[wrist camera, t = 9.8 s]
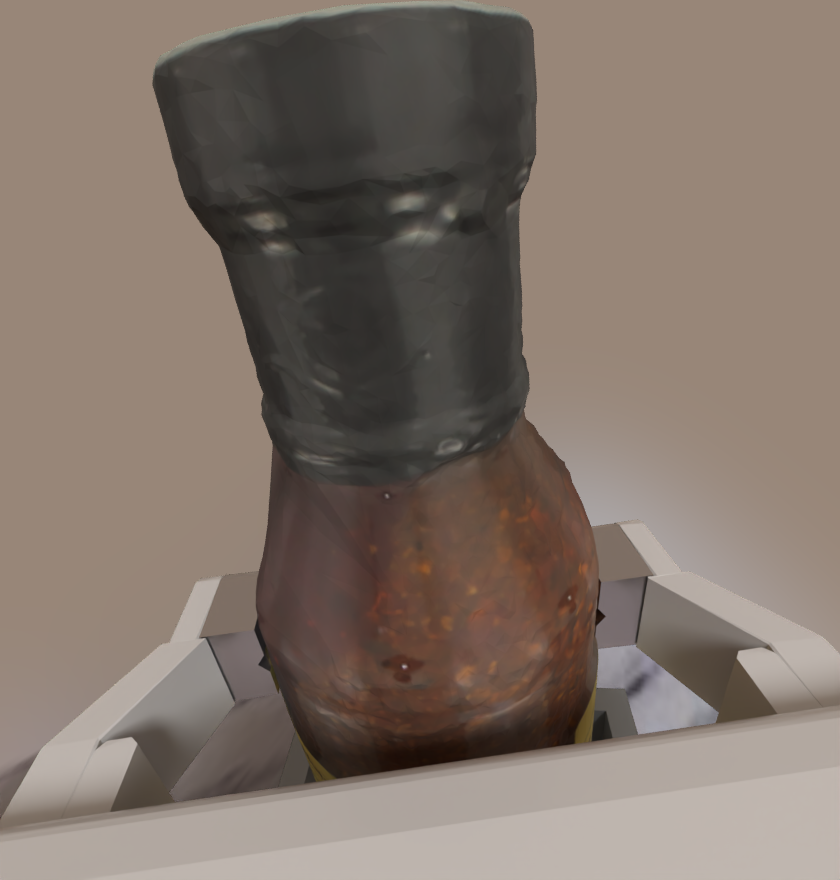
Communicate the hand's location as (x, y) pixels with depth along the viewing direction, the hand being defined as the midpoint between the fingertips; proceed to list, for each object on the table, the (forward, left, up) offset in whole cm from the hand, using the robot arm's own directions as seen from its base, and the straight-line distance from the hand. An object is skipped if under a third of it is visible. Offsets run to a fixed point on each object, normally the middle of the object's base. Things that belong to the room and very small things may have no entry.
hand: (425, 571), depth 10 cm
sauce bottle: (0, -1, -11) cm, 11 cm away
